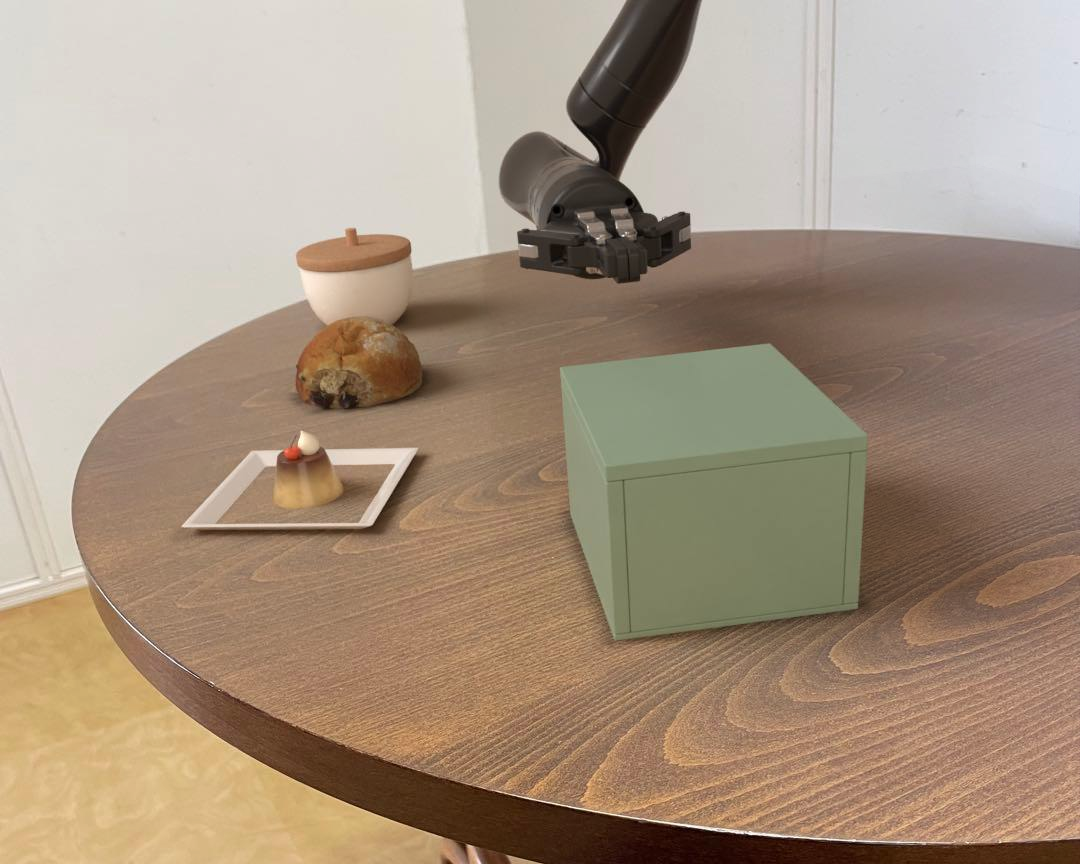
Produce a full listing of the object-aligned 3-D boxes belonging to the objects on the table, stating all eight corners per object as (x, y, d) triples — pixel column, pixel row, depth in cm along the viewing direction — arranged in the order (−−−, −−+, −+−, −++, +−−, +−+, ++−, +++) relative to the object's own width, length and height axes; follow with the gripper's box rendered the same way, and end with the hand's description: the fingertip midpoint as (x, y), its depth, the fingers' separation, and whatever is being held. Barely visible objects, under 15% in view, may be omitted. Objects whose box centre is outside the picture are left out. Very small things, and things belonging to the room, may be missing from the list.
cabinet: (570, 520, 67) (559, 366, 63) (768, 496, 68) (770, 342, 64) (615, 649, 54) (604, 466, 50) (858, 617, 55) (868, 434, 51)
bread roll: (437, 436, 91) (459, 338, 90) (334, 419, 84) (357, 313, 83) (364, 411, 98) (384, 320, 97) (263, 394, 90) (283, 295, 89)
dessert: (184, 543, 69) (166, 470, 66) (255, 464, 79) (241, 400, 77) (374, 542, 67) (362, 467, 65) (420, 462, 77) (412, 396, 75)
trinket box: (415, 339, 104) (401, 236, 100) (300, 348, 104) (281, 246, 100) (425, 308, 113) (413, 213, 109) (319, 316, 114) (303, 222, 110)
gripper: (495, 177, 85) (520, 218, 70) (668, 159, 86) (730, 195, 70) (505, 276, 88) (531, 336, 73) (671, 257, 89) (731, 313, 74)
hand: (629, 266), depth 72 cm, fingers closed
